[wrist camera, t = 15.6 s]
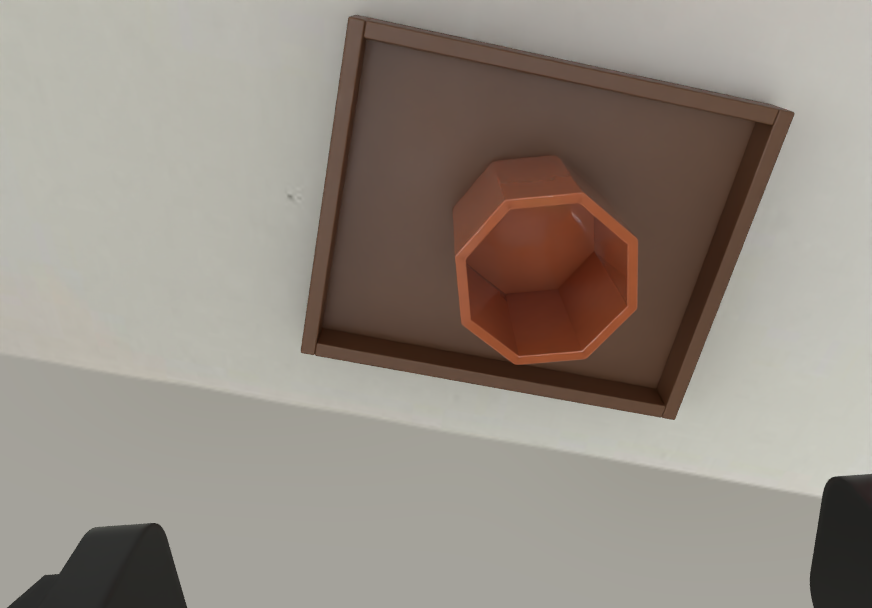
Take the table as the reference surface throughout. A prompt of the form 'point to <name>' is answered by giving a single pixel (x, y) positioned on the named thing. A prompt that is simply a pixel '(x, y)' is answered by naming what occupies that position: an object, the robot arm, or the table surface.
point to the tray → (509, 139)
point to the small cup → (542, 261)
